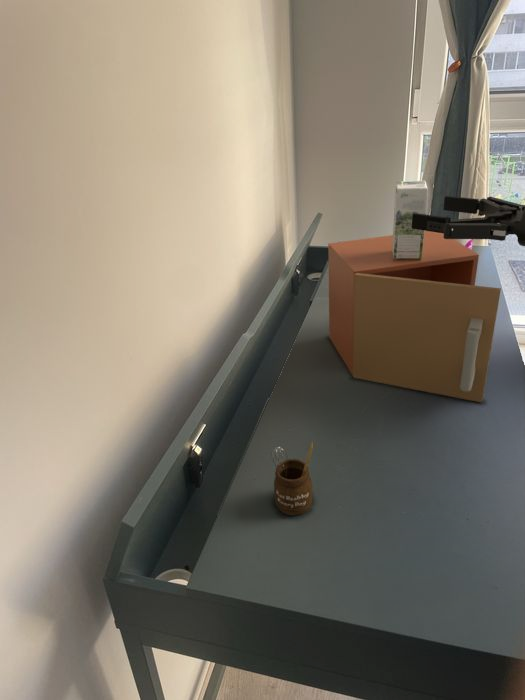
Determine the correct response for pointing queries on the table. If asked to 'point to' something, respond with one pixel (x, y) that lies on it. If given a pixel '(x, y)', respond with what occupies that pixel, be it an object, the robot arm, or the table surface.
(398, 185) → the syrup box
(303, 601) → the table surface
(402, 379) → the cabinet door
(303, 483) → the utensil holder
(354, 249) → the cabinet
